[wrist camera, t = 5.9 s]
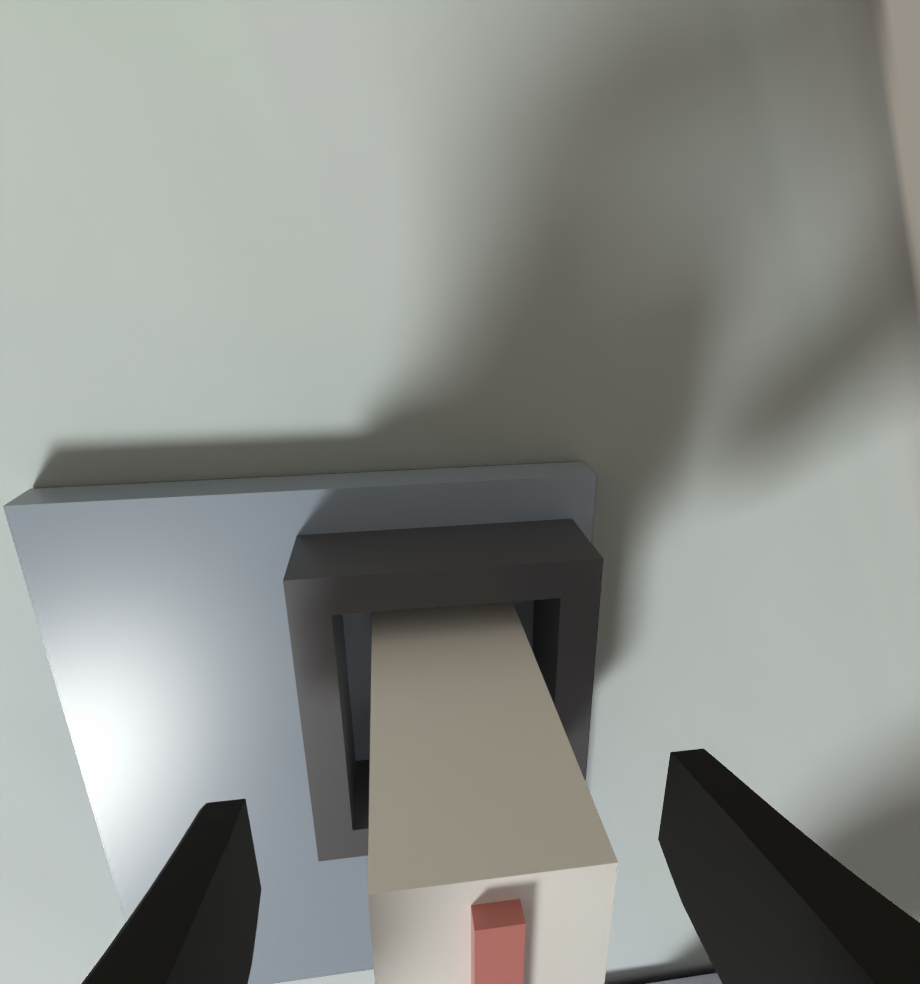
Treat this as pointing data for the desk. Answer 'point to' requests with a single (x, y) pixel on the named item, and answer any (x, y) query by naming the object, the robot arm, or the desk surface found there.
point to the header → (417, 585)
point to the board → (231, 664)
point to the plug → (478, 811)
